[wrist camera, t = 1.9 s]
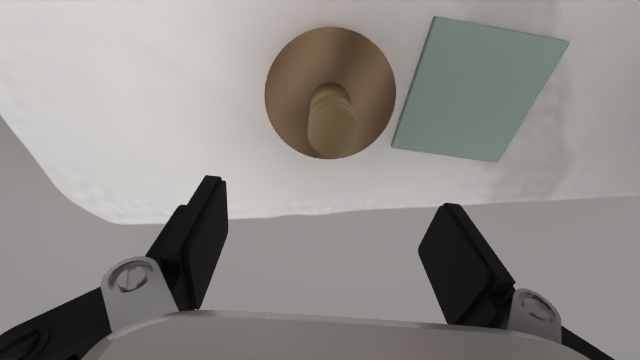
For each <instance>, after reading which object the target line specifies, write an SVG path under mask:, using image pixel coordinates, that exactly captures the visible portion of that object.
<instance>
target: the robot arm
mask: <svg viewBox="0 0 640 360" xmlns="http://www.w3.org/2000/svg"><path fill="white" fill-rule="evenodd" d="M227 234H228V213H227V193H226V181H222V179H221V177H218V176H209V175H206V176H205V177H204V179H203V180H202V182H201V183H200V185H199V187H198V188H197V190H196V191H195V193H194V195H193V196H192V198H191V199H190V201H189V203H188V204H187V205H180V206H178V208H177V209H176V210H175V212H174V213H173V215H172V216H171V218H170V219H169V221H168V222H167V224H166V225H165V227H164V228H163V230H162V231H161V233H160V234H159V236H158V237H157V239H156V240H155V242H154V243H153V245H152V246H151V248H150V249H149V251H148V253H147V254H146V256H145V257H142V256H141V257H133V258H129V259H126V260H123V261H121V262H119V263H117V264H116V265H114V266H113V267H112V268H110V269H109V270H108V271H107V273H106V274H105V275H104V277H103V279H102V281H101V287H99V288H97V289H95V290H92V291H90V292H88V293H86V294H84V295H82V296H80V297H77V298H75V299H73V300H71V301H69V302H67V303H64V304H63V305H60V306H58V307H56V308H54V309H52V310H50V311H47V312H45V313H43V314H41V315H39V316H37V317H35V318H32V319H30V320H28V321H26V322H24V323H22V324H19V325H17V326H15V327H13V328H12V329H10V330H8V331H6V332H5V333H3V334H2V335H0V360H614V359H613V358H611V357H610V356H608V355H607V354H605V353H603V352H602V351H600V350H599V349H597V348H596V347H594V346H592V345H591V344H589V343H588V342H586V341H585V340H583V339H581V338H580V337H578V336H577V335H575V334H574V333H572V332H571V331H569V330H568V329H566V328H564V327H563V326H561V318H560V315H559V313H558V312H557V310H556V309H555V307H554V306H553V305H552V304H551V303H550V302H549V301H548V300H546V299H545V298H544V297H542V296H541V295H539V294H538V293H536V292H534V291H531V290H528V289H517V290H515V289H514V287H513V285H514V284H515V281H514V280H513V278H512V276H511V275H510V274H509V272H508V271H507V269H506V268H505V267H504V265H503V264H502V262H501V261H500V260H499V258H498V257H497V255H496V254H495V253H494V251H493V250H492V248H491V247H490V246H489V244H488V243H487V242H486V240H485V239H484V237H483V236H482V235H481V233H480V232H479V230H478V229H477V228H476V226H475V225H474V223H473V222H472V221H471V219H470V218H469V216H468V215H467V214H466V212H465V211H464V210H463V208H462V207H461V206H460V205H459V204H452V203H445V204H443V206H440V207H439V208H438V210H437V212H436V214H435V216H434V218H433V220H432V222H431V224H430V226H429V228H428V230H427V232H426V234H425V236H424V238H423V240H422V242H421V244H420V245H419V248H418V252H419V256H420V259H421V261H422V264H423V266H424V268H425V271H426V273H427V276H428V278H429V280H430V283H431V285H432V288H433V290H434V293H435V295H436V298H437V300H438V302H439V305H440V307H441V309H442V312H443V314H444V317H445V319H446V322H447V324H435V323H422V322H408V321H394V320H379V319H364V318H349V317H334V316H320V315H303V314H288V313H287V314H286V313H272V312H251V311H230V310H195V309H200V307H201V305H202V302H203V299H204V296H205V294H206V291H207V288H208V286H209V283H210V280H211V278H212V275H213V272H214V270H215V267H216V264H217V262H218V259H219V256H220V254H221V251H222V248H223V246H224V243H225V240H226V237H227Z"/></svg>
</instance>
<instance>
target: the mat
mask: <svg viewBox="0 0 640 360" xmlns="http://www.w3.org/2000/svg"><path fill="white" fill-rule="evenodd" d="M569 44H570V42H569V41H564V40H558V39H553V38H548V37H542V36H537V35H532V34H526V33H521V32H515V31H510V30H505V29H499V28H494V27H489V26H483V25H478V24H473V23H467V22H462V21H457V20H451V19H446V18H440V17H435V16H434V18H433V21H432V24H431V27H430V30H429V33H428V36H427V39H426V42H425V45H424V48H423V51H422V54H421V57H420V60H419V63H418V66H417V69H416V72H415V75H414V78H413V81H412V84H411V87H410V90H409V93H408V96H407V99H406V102H405V105H404V108H403V111H402V114H401V117H400V120H399V123H398V126H397V129H396V132H395V135H394V138H393V141H392V144H391V147H392V148H398V149H405V150H412V151H419V152H426V153H433V154H440V155H447V156H454V157H461V158H468V159H476V160H483V161H490V162H497V163H498V161H499V160H500V158H501V156H502V155H503V153H504V151H505V150H506V148H507V146H508V145H509V143H510V141H511V140H512V138H513V136H514V135H515V133H516V131H517V130H518V128H519V126H520V125H521V123H522V121H523V120H524V118H525V116H526V115H527V113H528V112H529V110H530V108H531V107H532V105H533V103H534V102H535V100H536V98H537V97H538V95H539V93H540V92H541V90H542V88H543V87H544V85H545V83H546V82H547V80H548V78H549V77H550V75H551V73H552V72H553V70H554V68H555V67H556V65H557V63H558V62H559V60H560V58H561V57H562V55H563V54H564V52H565V50H566V49H567V47H568V45H569Z"/></svg>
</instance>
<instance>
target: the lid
mask: <svg viewBox="0 0 640 360" xmlns="http://www.w3.org/2000/svg"><path fill="white" fill-rule="evenodd" d="M395 98H396V86H395V79H394V75H393V72H392V69H391V67H390V65H389V62H388V60H387V59H386V57H385V56H384V54H383V53H382V52H381V51H380V49H379V48H378V47H377V46H376V45H375V44H373V43H372V42H371V41H370V40H369V39H367V38H366V37H364V36H362V35H361V34H359V33H356V32H354V31H352V30H348V29H344V28H337V27H325V28H319V29H314V30H311V31H308V32H306V33H304V34H302V35H300V36H298V37H296V38H295V39H294V40H292V41H291V42H290V43H288V44H287V45H286V46H285V47H284V48H283V49H282V51H281V52H280V53H279V55H278V56H277V57H276V59H275V60H274V62H273V64H272V66H271V68H270V70H269V73H268V76H267V80H266V85H265V105H266V110H267V114H268V117H269V119H270V122H271V124H272V126H273V127H274V129H275V131H276V132H277V134H278V135H279V136H280V137H281V138H282V139H283V140H284V141H285V142H286V143H287V144H288V145H289V146H290V147H292V148H293V149H295V150H297V151H298V152H300V153H302V154H305V155H307V156H311V157H314V158H319V159H338V158H344V157H347V156H351V155H353V154H356V153H358V152H360V151H362V150H363V149H365V148H366V147H368V146H369V145H371V144H372V143H373V142H374V141H375V140H376V139H377V138H378V137H379V136H380V135H381V133H382V132H383V131H384V129H385V128H386V126H387V124H388V122H389V120H390V118H391V115H392V113H393V109H394V105H395Z"/></svg>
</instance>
